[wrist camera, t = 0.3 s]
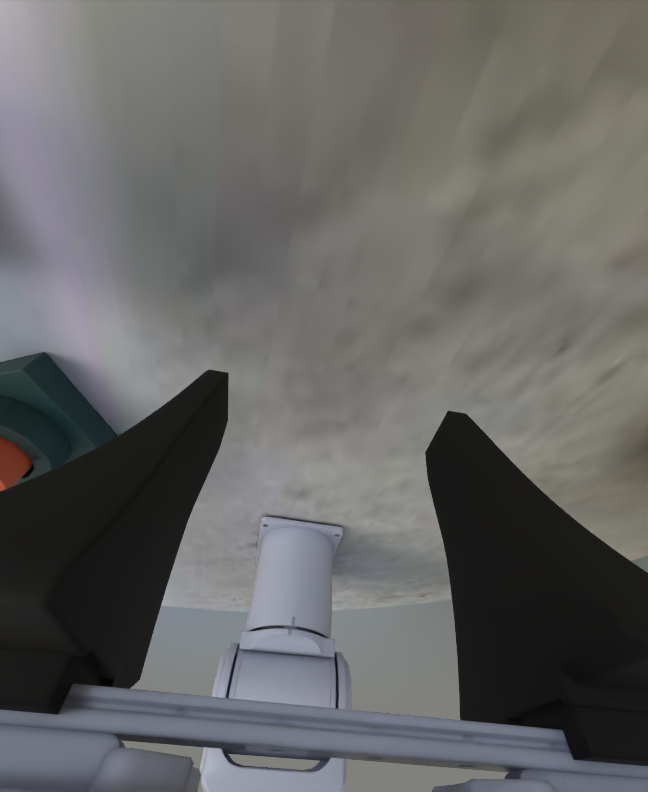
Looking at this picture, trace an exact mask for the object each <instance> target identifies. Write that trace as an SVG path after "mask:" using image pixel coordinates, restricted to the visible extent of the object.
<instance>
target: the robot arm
mask: <svg viewBox="0 0 648 792" xmlns="http://www.w3.org/2000/svg"><path fill="white" fill-rule="evenodd" d="M227 422H228V373H226V372H220V371H214V370H208V371H206V372H205V373H203V374H202V375H201V376H200V377H199V378H197V379H196V380H195V381H194V382H193V383H191V384H190V385H189V386H188V387H186V388H185V389H184V390H183V391H182V392H180V393H179V394H178V395H176V396H175V397H174V398H173V399H171V400H170V401H169V402H167V403H166V404H165V405H163V406H162V407H161V408H159V409H158V410H157V411H155V412H154V413H152V414H151V415H149V416H148V417H146V418H145V419H144V420H142V421H141V422H139V423H138V424H136V425H135V426H133V427H132V428H130V429H128V430H127V431H125V432H124V433H122V434H120V435H119V436H117V437H115V438H114V439H112V440H110V441H108V442H107V443H105V444H103V445H101V446H100V447H98V448H96V449H94V450H92V451H90V452H88V453H86V454H84V455H82V456H80V457H78V458H76V459H74V460H72V461H70V462H68V463H66V464H63V465H61V466H59V467H57V468H55V469H53V470H51V471H48V472H46V473H44V474H42V475H39V476H37V477H35V478H32V479H30V480H28V481H25V482H23V483H20V484H18V485H15V486H13V487H10V488H8V489H5V490H3V491H0V792H197V790H198V785H199V781H200V776H201V777H202V778H201V783H202V789H203V792H343V790H344V785H345V784H346V781H347V765H348V759H353V760H365V761H378V762H389V763H402V764H413V765H426V766H437V767H450V768H462V769H473V770H486V771H498V772H509V773H508V774H507V775H506V776H505V779H471V780H469V781H467V782H465V783H461V784H456V785H447V786H437V787H434V788H433V790H432V792H648V573H647V572H645V571H644V570H643V569H641V568H640V567H638V566H637V565H635V564H633V563H632V562H631V561H629V560H628V559H626V558H625V557H624V556H622V555H621V554H619V553H618V552H617V551H615V550H614V549H612V548H611V547H610V546H608V545H607V544H606V543H604V542H603V541H602V540H600V539H599V538H598V537H596V536H595V535H594V534H592V533H591V532H590V531H588V530H587V529H586V528H584V527H583V526H582V525H581V524H579V523H578V522H577V521H576V520H574V519H573V518H572V517H571V516H570V515H568V514H567V513H566V512H565V511H564V510H563V509H561V508H560V507H559V506H558V505H557V504H556V503H554V502H553V501H552V500H551V499H550V498H549V497H548V496H546V495H545V494H544V493H543V492H542V491H541V490H540V489H539V488H538V487H537V486H536V485H535V484H534V483H533V482H532V481H531V480H529V479H528V478H527V477H526V476H525V475H524V474H523V473H522V472H521V471H520V470H519V469H518V468H517V467H516V466H515V465H514V464H513V463H512V462H511V460H510V459H509V458H508V457H507V456H506V455H505V454H504V453H503V452H502V451H501V450H500V449H499V448H498V447H497V446H496V445H495V444H494V442H493V441H492V440H491V439H490V438H489V437H488V436H487V435H486V434H485V433H484V432H483V431H482V430H481V429H480V427H479V426H478V425H477V424H476V423H475V422H474V421H473V420H472V419H471V418H470V417H469V416H468V415H466V414H464V413H458V412H452V411H448V412H447V414H446V416H445V417H444V419H443V421H442V423H441V425H440V427H439V428H438V430H437V432H436V434H435V436H434V438H433V439H432V441H431V443H430V445H429V447H428V449H427V450H426V452H425V453H426V465H427V474H428V481H429V486H430V490H431V494H432V498H433V502H434V506H435V510H436V514H437V518H438V522H439V526H440V530H441V534H442V538H443V542H444V547H445V552H446V557H447V564H448V571H449V578H450V585H451V593H452V601H453V610H454V618H455V631H456V643H457V655H458V673H459V694H460V719H461V720H453V719H442V718H431V717H421V716H411V715H400V714H390V713H379V712H368V711H358V710H352V707H351V706H352V694H351V677H350V670H349V665H348V663H347V661H346V660H345V659H344V656H343V654H342V653H340V652H335V640H334V639H331V614H332V566H333V557H334V555H335V552H336V550H337V547H338V545H339V543H340V540H341V538H342V536H343V533H344V529H343V528H341V527H337V526H330V525H323V524H316V523H309V522H302V521H294V520H287V519H280V518H273V517H263V518H262V519H261V525H260V533H259V540H258V548H257V555H256V563H255V564H256V565H257V566H258V567H257V572H256V578H255V583H254V588H253V593H252V599H251V604H250V609H249V615H248V620H247V625H246V630H245V631H242V636H241V641H240V644H239V643H232V644H231V645H230V647H229V648H228V649H226V650H225V652H224V653H223V655H222V658H221V661H220V664H219V668H218V671H217V675H216V679H215V683H214V688H213V692H212V697H211V696H199V695H190V694H178V693H168V692H158V691H147V690H137V689H130V688H131V687H132V686H133V685H134V684H135V683H137V682H138V681H139V680H140V677H141V673H142V669H143V666H144V662H145V659H146V655H147V652H148V648H149V645H150V641H151V637H152V634H153V630H154V627H155V623H156V620H157V617H158V613H159V610H160V607H161V603H162V600H163V597H164V593H165V590H166V587H167V583H168V580H169V577H170V574H171V571H172V568H173V564H174V561H175V558H176V555H177V552H178V549H179V546H180V543H181V540H182V537H183V534H184V531H185V528H186V525H187V522H188V519H189V517H190V514H191V511H192V509H193V507H194V504H195V502H196V500H197V498H198V495H199V493H200V491H201V489H202V486H203V484H204V482H205V480H206V478H207V475H208V473H209V471H210V469H211V466H212V464H213V462H214V459H215V457H216V455H217V453H218V450H219V448H220V445H221V442H222V438H223V435H224V432H225V428H226V425H227ZM121 740H123V741H136V742H148V743H160V744H172V745H185V746H196V747H204V751H203V756H202V761H201V766H200V771H199V769H197V768H195V767H193V764H194V763H193V761H192V759H191V757H185V756H179V755H173V754H167V753H161V752H154V751H148V750H142V749H134V748H125V746H124V744H123V742H122V741H121ZM228 754H240V755H253V756H268V757H280V758H294V759H307V760H320V762H319V763H318V764H317V765H316V766H315V767H313V768H312V769H307V770H294V769H280V768H268V767H253V766H243V765H240V764H237V763H235V762H234V761H233V760H232V759H231V758H230V756H229V755H228Z"/></svg>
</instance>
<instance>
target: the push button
mask: <svg viewBox="0 0 648 792" xmlns="http://www.w3.org/2000/svg"><path fill="white" fill-rule="evenodd" d="M31 466H32V461H31V458H30V457H29V456H28V455H27V454H26V453H25V452H24V451H22V450H21V449H20V448H19V447H18V446H17V445H16V444H14V443H13V442H11V441H9V440H7V439H5V438H2V437H0V491H3V490H5V489H8V488H10V487H13V486H14V485H15V484H16V483H17V482H18V481H19V480H20V479H21V478H22V476H23V475H24V474H25V473H26V472H27V471H28V470H29V469H30V468H31Z"/></svg>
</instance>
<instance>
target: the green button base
mask: <svg viewBox="0 0 648 792" xmlns="http://www.w3.org/2000/svg"><path fill="white" fill-rule="evenodd" d="M0 437H2V438H5V439H7V440H9V441H11V442H13V443H14V444H16V445H17V446H18V447H19V448H20V449H21V450H22V451H24V452H25V453H26V454H27V455H28V456H29V457H30V458H31V461H32V466H31V468H30V469H29V470H28V471H27V472H26V473H25V474H24V475H23V476H22V478H21V479H20V480H19V481H18V482H17V483H16V484H15V485H18V484H20V483H23V482H25V481H28V480H30V479H32V478H35V477H37V476H39V475H42V474H44V473H46V472H48V471H51V470H53V469H55V468H57V467H59V466H61V465H63V464H66V463H68V462H70V461H72V460H74V459H76V458H78V457H80V456H82V455H84V454H86V453H88V452H90V451H92V450H94V449H96V448H98V447H100V446H101V445H103V444H105V443H107V442H108V441H110V440H112V439H114V438H115V437H117V435H116V434H115V433H114V432H113V430H112V429H111V428H110V427H109V426H108V425H107V424H106V422H105V421H104V420H103V419H102V418H101V417H100V416H99V414H98V413H97V412H96V411H95V410H94V409H93V407H92V406H91V405H90V404H89V403H88V402H87V401H86V399H85V398H84V397H83V396H82V395H81V394H80V392H79V391H78V390H77V389H76V388H75V387H74V386H73V384H72V383H71V382H70V381H69V380H68V379H67V377H66V376H65V375H64V374H63V373H62V372H61V371H60V369H59V368H58V367H57V366H56V365H55V364H54V363H53V361H52V360H51V359H50V358H49V357H48V356H47V354H46V353H45V352H43V353H38V354H34V355H30V356H26V357H21V358H17V359H13V360H9V361H4V362H0ZM15 485H14V486H15Z"/></svg>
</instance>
